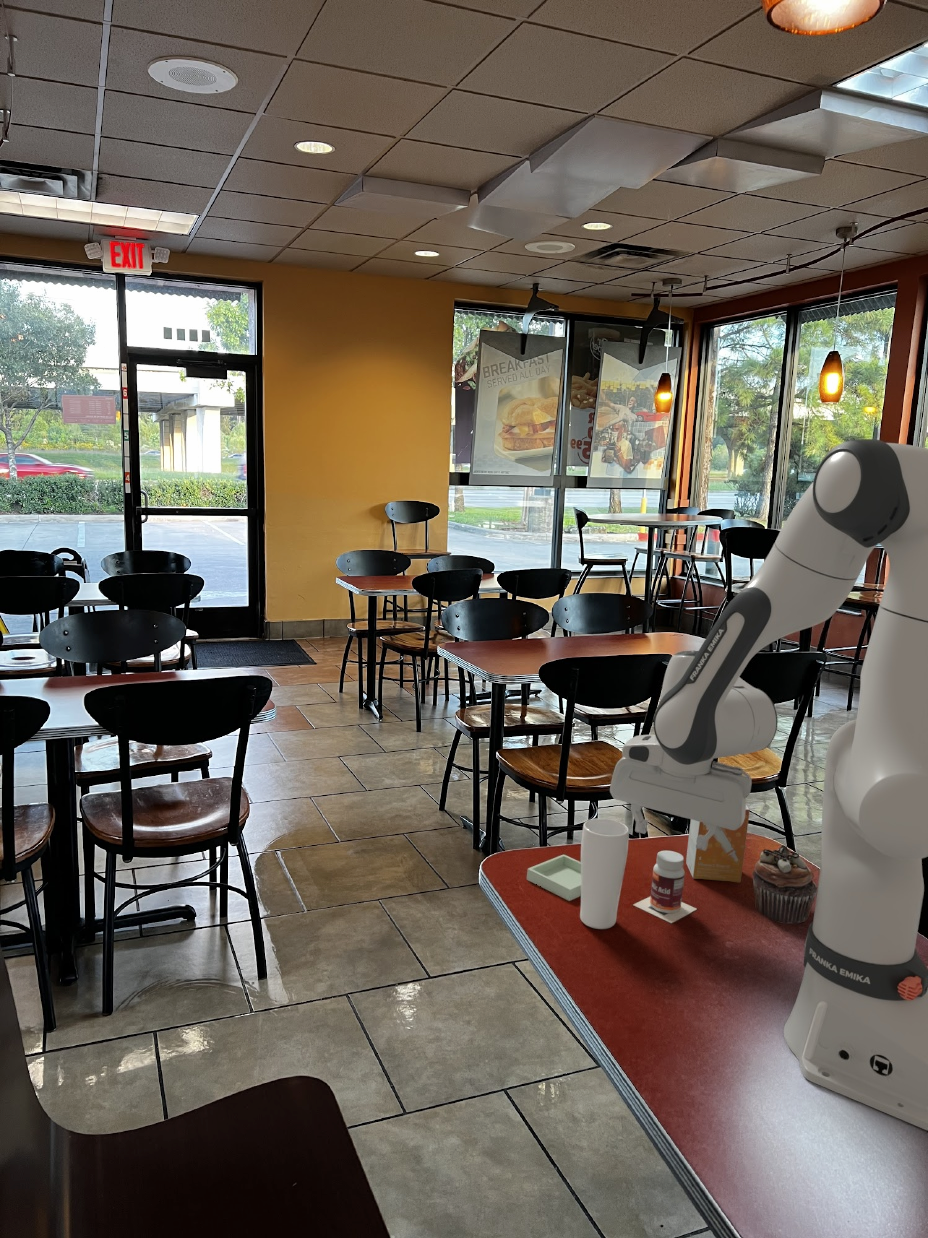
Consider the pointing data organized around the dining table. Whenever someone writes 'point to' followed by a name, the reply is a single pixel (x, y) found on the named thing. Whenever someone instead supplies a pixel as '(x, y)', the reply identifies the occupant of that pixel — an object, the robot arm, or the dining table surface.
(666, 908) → the pill bottle
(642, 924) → the dining table surface
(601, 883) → the drinking glass
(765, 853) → the cupcake
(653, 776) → the robot arm
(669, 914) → the coaster
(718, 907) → the dining table surface
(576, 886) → the sage tray
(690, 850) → the small box
